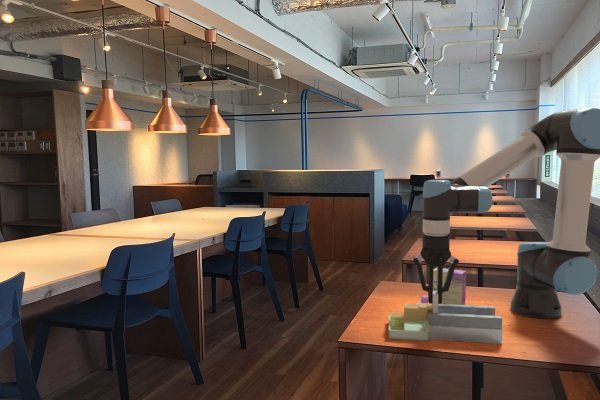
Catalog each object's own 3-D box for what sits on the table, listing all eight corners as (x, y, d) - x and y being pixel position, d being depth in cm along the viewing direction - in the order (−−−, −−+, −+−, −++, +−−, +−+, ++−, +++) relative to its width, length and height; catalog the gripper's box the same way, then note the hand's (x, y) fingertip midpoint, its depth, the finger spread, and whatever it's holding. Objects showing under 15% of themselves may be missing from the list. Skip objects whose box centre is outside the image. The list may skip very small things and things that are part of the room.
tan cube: (417, 317, 144) (417, 304, 144) (418, 322, 140) (418, 308, 140) (404, 317, 145) (403, 304, 145) (404, 321, 141) (404, 308, 141)
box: (465, 303, 169) (466, 270, 168) (461, 308, 165) (462, 273, 164) (436, 299, 175) (436, 266, 174) (431, 303, 170) (431, 270, 169)
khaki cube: (404, 313, 145) (390, 312, 146) (404, 317, 141) (390, 317, 142) (403, 326, 145) (390, 325, 146) (404, 331, 142) (390, 330, 142)
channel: (492, 328, 144) (493, 305, 144) (502, 343, 133) (502, 318, 132) (425, 325, 148) (425, 302, 147) (428, 339, 136) (428, 315, 136)
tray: (425, 324, 149) (425, 316, 149) (428, 341, 135) (428, 332, 135) (388, 322, 151) (388, 314, 151) (388, 338, 137) (388, 330, 137)
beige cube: (431, 316, 144) (431, 303, 143) (432, 321, 140) (432, 307, 139) (417, 316, 144) (417, 303, 144) (418, 320, 140) (418, 307, 140)
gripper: (457, 232, 142) (456, 311, 144) (412, 231, 144) (411, 309, 146) (461, 236, 134) (459, 319, 136) (413, 235, 137) (412, 317, 139)
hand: (434, 314), depth 141 cm, fingers closed
